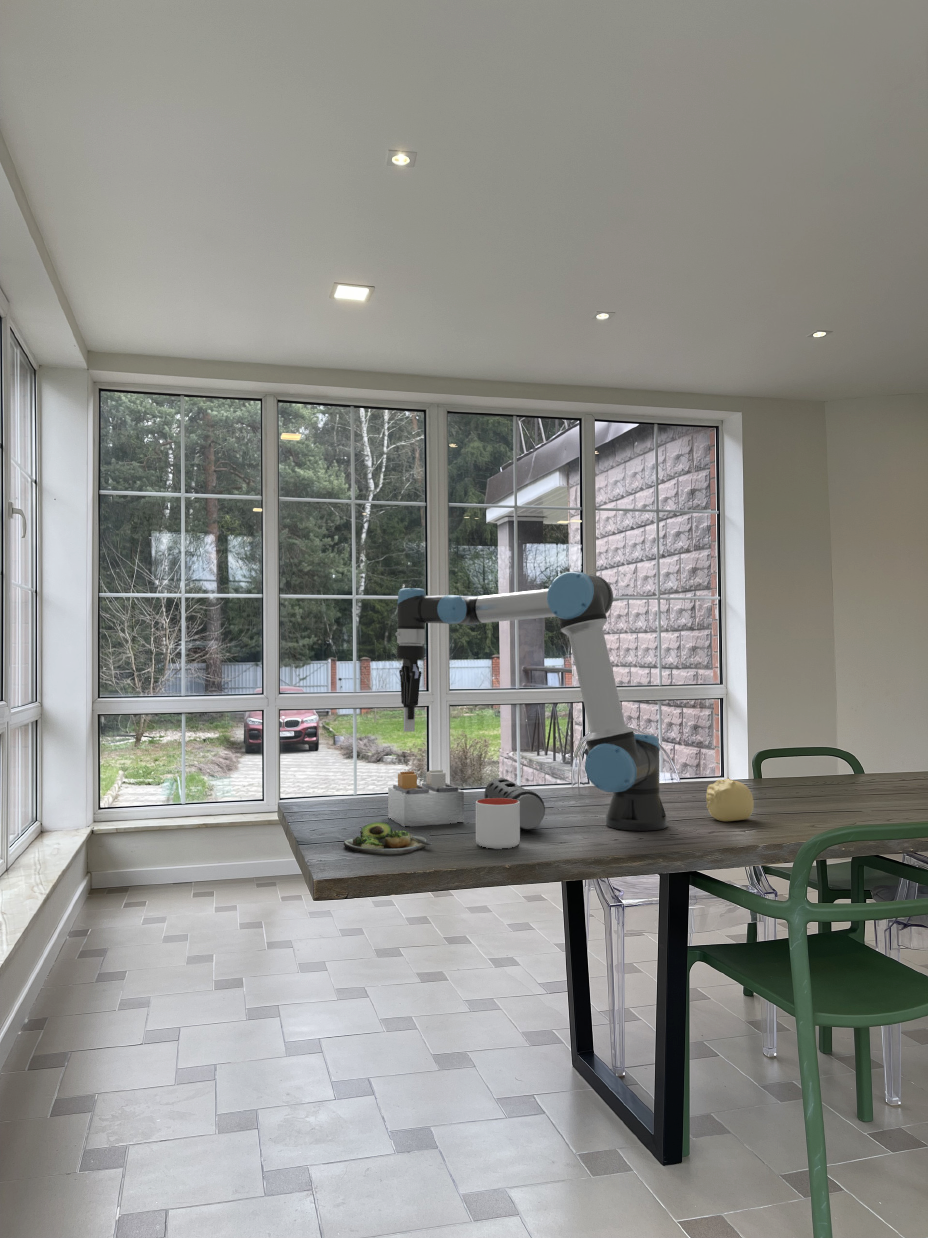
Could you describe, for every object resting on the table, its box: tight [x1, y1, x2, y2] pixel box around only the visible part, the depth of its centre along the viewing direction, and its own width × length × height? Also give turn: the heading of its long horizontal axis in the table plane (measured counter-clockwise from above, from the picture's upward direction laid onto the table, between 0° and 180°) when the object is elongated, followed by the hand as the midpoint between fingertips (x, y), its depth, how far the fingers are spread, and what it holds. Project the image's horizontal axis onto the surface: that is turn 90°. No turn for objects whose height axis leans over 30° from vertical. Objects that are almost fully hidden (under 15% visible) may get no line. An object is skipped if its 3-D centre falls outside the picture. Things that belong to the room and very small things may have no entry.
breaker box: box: [387, 782, 465, 828], centre depth 241 cm, size 14×16×9 cm
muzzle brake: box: [484, 777, 546, 831], centre depth 235 cm, size 10×28×10 cm, turn 12°
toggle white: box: [425, 769, 447, 787], centre depth 246 cm, size 4×4×4 cm
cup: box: [475, 798, 521, 850], centre depth 210 cm, size 10×10×10 cm
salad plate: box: [343, 821, 433, 855], centre depth 208 cm, size 19×18×5 cm
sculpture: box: [705, 778, 755, 822], centre depth 241 cm, size 11×12×11 cm
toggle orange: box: [397, 770, 418, 789], centre depth 243 cm, size 4×4×4 cm
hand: (409, 731), depth 252 cm, fingers closed
